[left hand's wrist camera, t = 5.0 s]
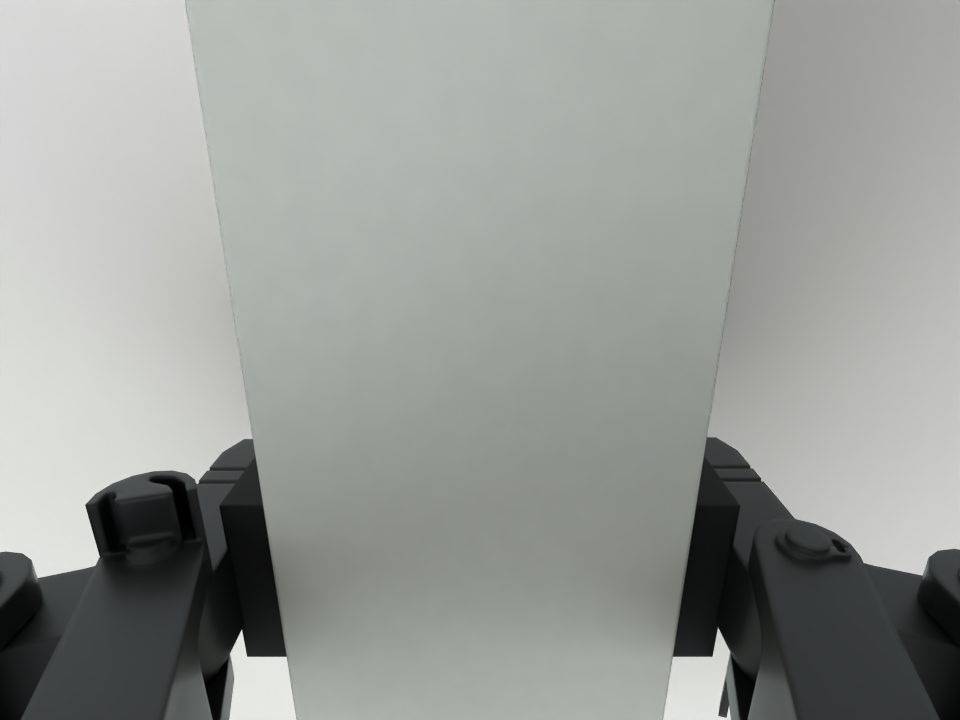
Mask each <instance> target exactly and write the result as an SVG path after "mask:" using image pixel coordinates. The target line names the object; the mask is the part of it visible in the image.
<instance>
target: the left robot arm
mask: <svg viewBox="0 0 960 720" xmlns="http://www.w3.org/2000/svg"><path fill="white" fill-rule="evenodd" d="M85 506H86V509H87V513H88V516H89V520H90V523H91V527H92V530H93V534H94V538H95V541H96V545H97V548H98V552H99V555H100V558H99V560H98V562H97V564H96V566H94V567H90V568H86V569H81V570H76V571H71V572H67V573H62V574H57V575H52V576H47V577H42V578H37V575H36V572H35V569H34V566H33V563H32V560H31V559H29V558H28V557H26V556H25V555H24V554H22V553H13V552H0V720H229V716H230V708H231V700H232V692H233V684H234V674H233V667H232V662H231V657H230V652H231V650H232V648H233V646H234V644H235V642H236V640H237V638H238V636H239V634H240V632H241V630H242V631H243V637H244V642H245V647H246V653H247V657H287V655H286V648H285V642H284V636H283V629H282V623H281V616H280V610H279V603H278V597H277V590H276V584H275V578H274V571H273V565H272V558H271V552H270V545H269V539H268V533H267V526H266V520H265V513H264V507H263V500H262V494H261V487H260V481H259V475H258V468H257V462H256V455H255V449H254V442H253V439H244V440H242V441H241V442H239V443H237V444H236V445H234V446H232V447H231V448H229V449H228V450H226V451H224V452H223V453H222V454H221V455H220V456H219V457H218V459H217V460H216V461H215V462H214V463H213V465H212V466H211V467H210V471H207V472H206V473H205V474H204V475H203V477H202V478H201V479H200V480H199V484H196V482H195V479H193V478H192V477H191V476H189V475H188V474H186V473H181V472H176V471H154V472H149V473H144V474H140V475H135V476H131V477H129V478H126V479H124V480H121V481H118V482H116V483H113V484H111V485H110V486H108V487H106V488H105V489H103V490H101V491H100V492H98V493H96V494H95V495H94V496H93V497H92V498H91V500H90V501H89V502H88V503H87V504H86V505H85ZM718 628H719V630H720V632H721V634H722V636H723V638H724V640H725V642H726V644H727V646H728V648H729V650H730V657H729V662H728V667H727V672H726V676H725V681H724V686H723V691H722V696H721V701H720V708H719V715H718V716H721V717H727V712H728V707H729V706H730V714H731V720H960V550H958V549H950V550H941V551H937V552H936V553H934V554H933V555H932V556H930V557H929V559H928V562H927V565H926V568H925V571H924V574H923V576H921V575H916V574H911V573H906V572H901V571H896V570H891V569H887V568H882V567H877V566H872V565H869V564H865V563H863V561H862V559H861V557H860V555H859V554H858V553H857V552H856V550H855V549H854V548H853V547H852V545H851V544H850V543H848V542H847V541H846V540H844V539H843V538H841V537H840V536H839V535H837V534H836V533H834V532H832V531H830V530H827V529H825V528H823V527H821V526H818V525H816V524H813V523H809V522H805V521H801V520H797V519H795V518H794V517H793V516H792V515H791V514H790V512H789V511H788V510H787V509H786V508H785V506H784V505H783V504H782V503H781V502H780V500H779V499H778V498H777V497H776V496H775V495H774V493H773V492H772V491H771V490H770V489H769V487H768V486H767V485H766V484H765V483H764V482H761V478H760V477H759V476H758V474H757V473H756V472H755V471H754V470H753V469H750V465H749V464H748V463H747V461H746V460H745V459H744V458H743V457H742V455H741V454H740V453H739V452H738V451H737V450H736V449H734V448H732V447H731V446H729V445H727V444H726V443H724V442H722V441H721V440H719V439H717V438H716V437H707V439H706V445H705V451H704V458H703V464H702V471H701V477H700V484H699V490H698V497H697V503H696V510H695V516H694V522H693V529H692V535H691V542H690V548H689V555H688V561H687V568H686V574H685V581H684V587H683V593H682V600H681V606H680V613H679V619H678V626H677V632H676V639H675V645H674V652H673V657H712V656H713V650H714V645H715V640H716V634H717V629H718Z"/></svg>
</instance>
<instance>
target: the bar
mask: <svg viewBox="0 0 960 720" xmlns="http://www.w3.org/2000/svg"><path fill="white" fill-rule="evenodd" d="M185 5H186V11H187V18H188V24H189V30H190V37H191V43H192V50H193V56H194V63H195V69H196V76H197V82H198V88H199V95H200V101H201V108H202V114H203V121H204V127H205V133H206V140H207V146H208V153H209V159H210V166H211V172H212V179H213V185H214V191H215V198H216V204H217V211H218V217H219V224H220V230H221V236H222V243H223V249H224V256H225V262H226V269H227V275H228V282H229V288H230V294H231V301H232V307H233V314H234V320H235V327H236V333H237V339H238V346H239V352H240V359H241V365H242V372H243V378H244V385H245V391H246V397H247V404H248V410H249V417H250V423H251V430H252V436H253V442H254V449H255V455H256V462H257V468H258V475H259V481H260V487H261V494H262V500H263V507H264V513H265V520H266V526H267V533H268V539H269V545H270V552H271V558H272V565H273V571H274V578H275V584H276V590H277V597H278V603H279V610H280V616H281V623H282V629H283V636H284V642H285V648H286V655H287V661H288V668H289V674H290V681H291V687H292V693H293V700H294V706H295V713H296V719H297V720H663V716H664V710H665V703H666V697H667V690H668V684H669V677H670V671H671V664H672V658H673V652H674V645H675V639H676V632H677V626H678V619H679V613H680V606H681V600H682V593H683V587H684V581H685V574H686V568H687V561H688V555H689V548H690V542H691V535H692V529H693V522H694V516H695V510H696V503H697V497H698V490H699V484H700V477H701V471H702V464H703V458H704V451H705V445H706V439H707V432H708V426H709V419H710V413H711V406H712V400H713V393H714V387H715V380H716V374H717V368H718V361H719V355H720V348H721V342H722V335H723V329H724V322H725V316H726V309H727V303H728V297H729V290H730V284H731V277H732V271H733V264H734V258H735V251H736V245H737V238H738V232H739V226H740V219H741V213H742V206H743V200H744V193H745V187H746V180H747V174H748V167H749V161H750V155H751V148H752V142H753V135H754V129H755V122H756V116H757V109H758V103H759V96H760V90H761V84H762V77H763V71H764V64H765V58H766V51H767V45H768V38H769V32H770V25H771V19H772V13H773V6H774V0H185Z"/></svg>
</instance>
